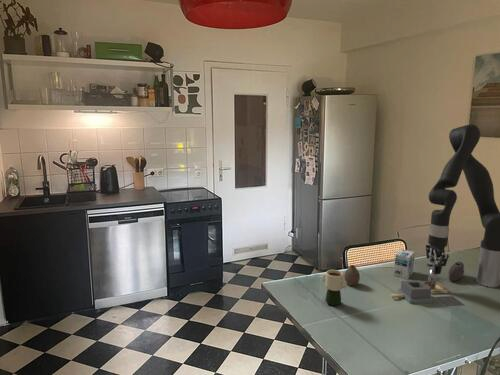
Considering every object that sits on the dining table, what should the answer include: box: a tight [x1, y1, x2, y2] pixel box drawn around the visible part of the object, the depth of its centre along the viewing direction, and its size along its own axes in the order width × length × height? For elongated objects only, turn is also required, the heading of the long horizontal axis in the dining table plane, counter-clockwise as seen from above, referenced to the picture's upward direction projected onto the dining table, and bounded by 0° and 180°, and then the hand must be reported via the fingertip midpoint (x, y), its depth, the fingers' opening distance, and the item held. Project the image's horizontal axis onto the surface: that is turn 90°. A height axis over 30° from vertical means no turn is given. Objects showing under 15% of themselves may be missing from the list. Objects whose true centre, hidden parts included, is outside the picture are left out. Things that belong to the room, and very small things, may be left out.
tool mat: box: [435, 295, 465, 307], centre depth 154 cm, size 8×8×1 cm
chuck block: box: [391, 279, 434, 304], centre depth 156 cm, size 15×10×6 cm, turn 95°
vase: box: [344, 264, 361, 287], centre depth 168 cm, size 7×7×9 cm
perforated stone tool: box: [447, 261, 465, 283], centre depth 176 cm, size 15×5×7 cm, turn 134°
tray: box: [422, 280, 450, 294], centre depth 165 cm, size 9×9×2 cm
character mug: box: [322, 269, 348, 306], centre depth 150 cm, size 11×7×13 cm, turn 45°
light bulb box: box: [393, 248, 416, 280], centre depth 181 cm, size 11×7×11 cm, turn 143°
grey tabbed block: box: [426, 259, 444, 288], centre depth 164 cm, size 4×7×11 cm, turn 95°
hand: (434, 271), depth 163 cm, fingers closed on grey tabbed block, 4 cm apart
